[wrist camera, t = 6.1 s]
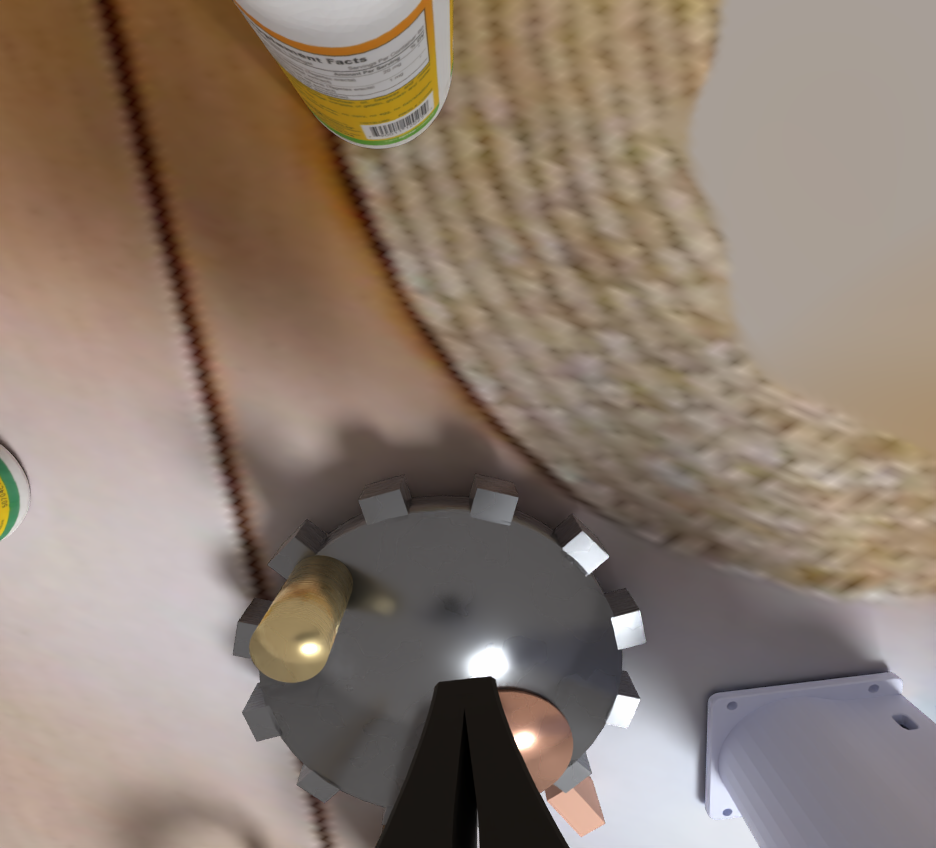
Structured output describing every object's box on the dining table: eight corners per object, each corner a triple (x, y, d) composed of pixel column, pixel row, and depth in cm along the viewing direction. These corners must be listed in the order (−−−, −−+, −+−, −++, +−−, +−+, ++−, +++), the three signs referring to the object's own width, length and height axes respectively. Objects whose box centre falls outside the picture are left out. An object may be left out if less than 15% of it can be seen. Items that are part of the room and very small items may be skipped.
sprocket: (437, 385, 17) (431, 414, 12) (707, 642, 20) (788, 748, 15) (170, 658, 19) (76, 774, 14) (448, 847, 23) (447, 993, 18)
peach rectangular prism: (539, 758, 23) (546, 800, 21) (561, 745, 22) (571, 786, 21) (570, 793, 23) (581, 837, 21) (592, 780, 23) (605, 823, 21)
